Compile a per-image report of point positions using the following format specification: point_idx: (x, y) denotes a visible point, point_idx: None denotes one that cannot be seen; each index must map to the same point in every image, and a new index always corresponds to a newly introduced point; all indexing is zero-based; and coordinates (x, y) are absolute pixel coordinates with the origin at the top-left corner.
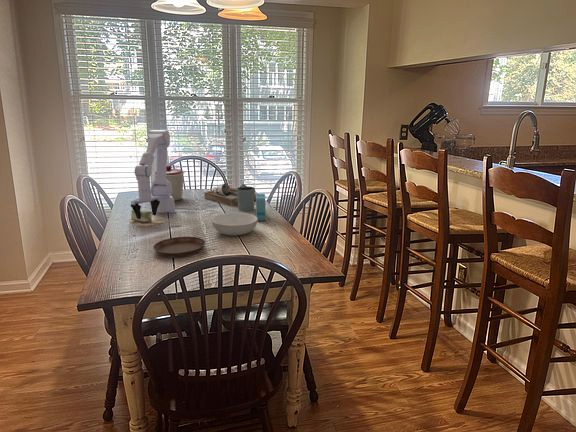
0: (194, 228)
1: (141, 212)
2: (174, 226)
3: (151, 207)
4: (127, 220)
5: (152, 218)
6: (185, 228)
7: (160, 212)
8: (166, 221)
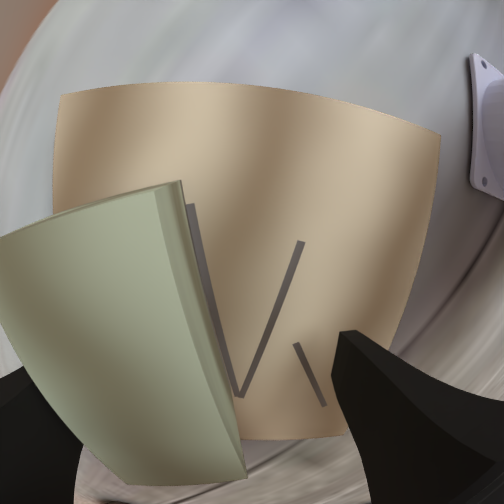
0: (324, 489)
1: (99, 452)
2: (303, 457)
3: (402, 393)
4: (65, 129)
5: (326, 294)
6: (305, 483)
7: (500, 159)
8: (315, 437)
